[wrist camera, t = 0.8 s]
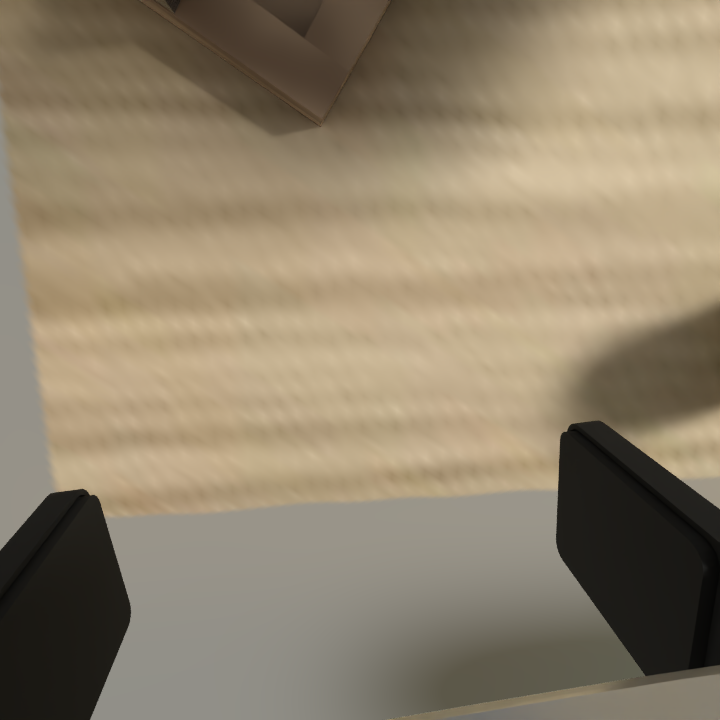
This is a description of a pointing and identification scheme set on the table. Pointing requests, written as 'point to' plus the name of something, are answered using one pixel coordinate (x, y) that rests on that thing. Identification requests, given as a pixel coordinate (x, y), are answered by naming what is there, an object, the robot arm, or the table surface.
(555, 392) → the table surface
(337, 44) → the wooden frame
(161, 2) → the dial
